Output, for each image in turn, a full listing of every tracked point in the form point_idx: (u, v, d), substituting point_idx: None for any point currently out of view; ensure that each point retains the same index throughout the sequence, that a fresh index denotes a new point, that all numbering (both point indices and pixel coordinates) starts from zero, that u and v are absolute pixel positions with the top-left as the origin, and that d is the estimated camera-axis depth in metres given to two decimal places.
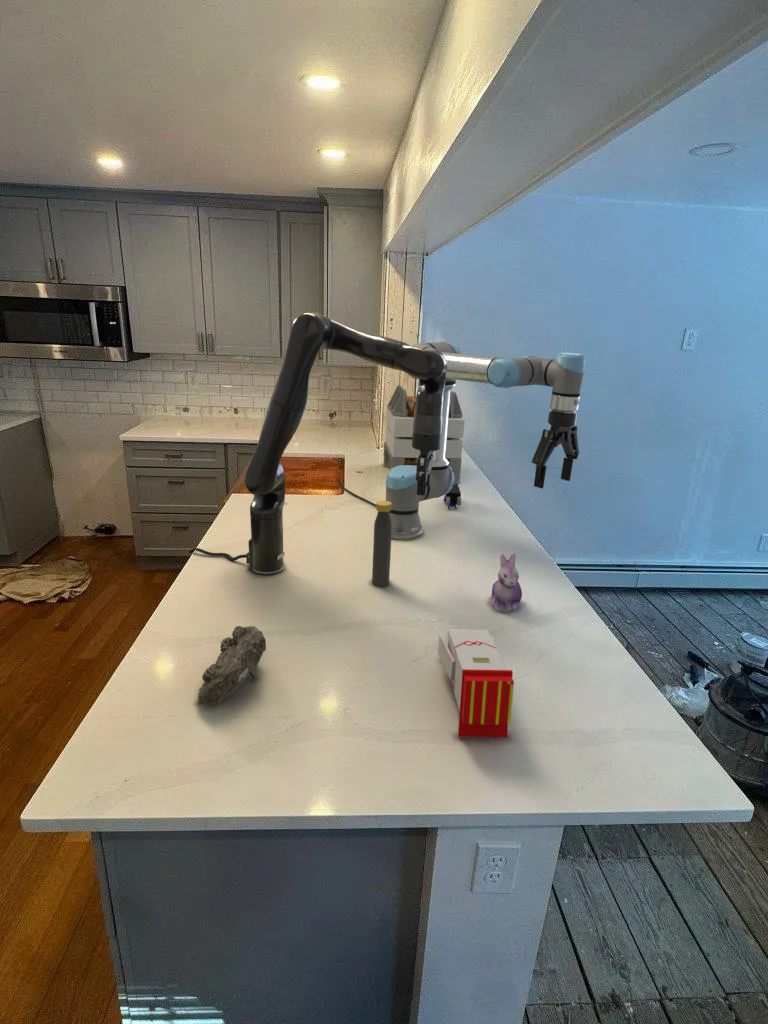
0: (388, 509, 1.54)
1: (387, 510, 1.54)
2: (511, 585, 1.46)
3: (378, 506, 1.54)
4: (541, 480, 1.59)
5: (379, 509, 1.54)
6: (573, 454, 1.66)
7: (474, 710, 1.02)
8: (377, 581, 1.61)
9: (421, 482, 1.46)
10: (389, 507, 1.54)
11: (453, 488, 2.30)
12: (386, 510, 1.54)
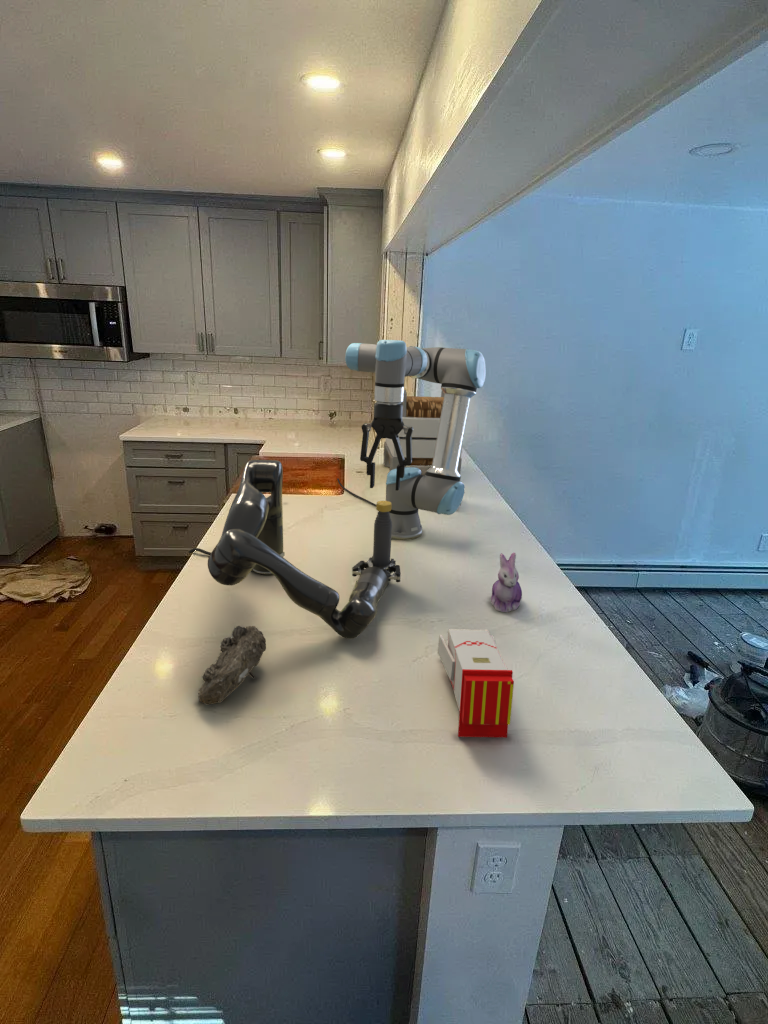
0: (388, 509, 1.54)
1: (387, 510, 1.54)
2: (511, 585, 1.46)
3: (378, 506, 1.54)
4: (399, 480, 1.53)
5: (379, 509, 1.54)
6: None
7: (474, 710, 1.02)
8: None
9: None
10: (389, 507, 1.54)
11: None
12: (386, 510, 1.54)
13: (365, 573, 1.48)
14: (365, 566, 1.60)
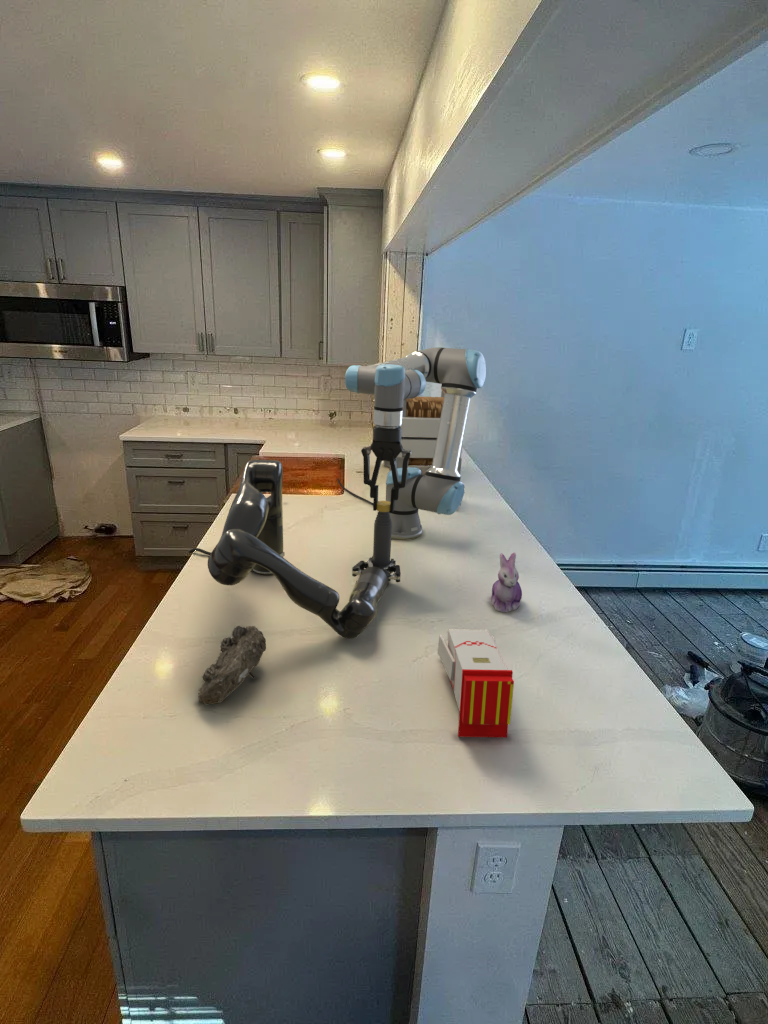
0: (388, 509, 1.54)
1: (387, 510, 1.54)
2: (511, 585, 1.46)
3: (378, 506, 1.54)
4: (394, 502, 1.56)
5: (379, 509, 1.54)
6: None
7: (474, 710, 1.02)
8: None
9: None
10: (389, 507, 1.54)
11: None
12: (386, 510, 1.54)
13: (365, 573, 1.48)
14: (365, 566, 1.60)
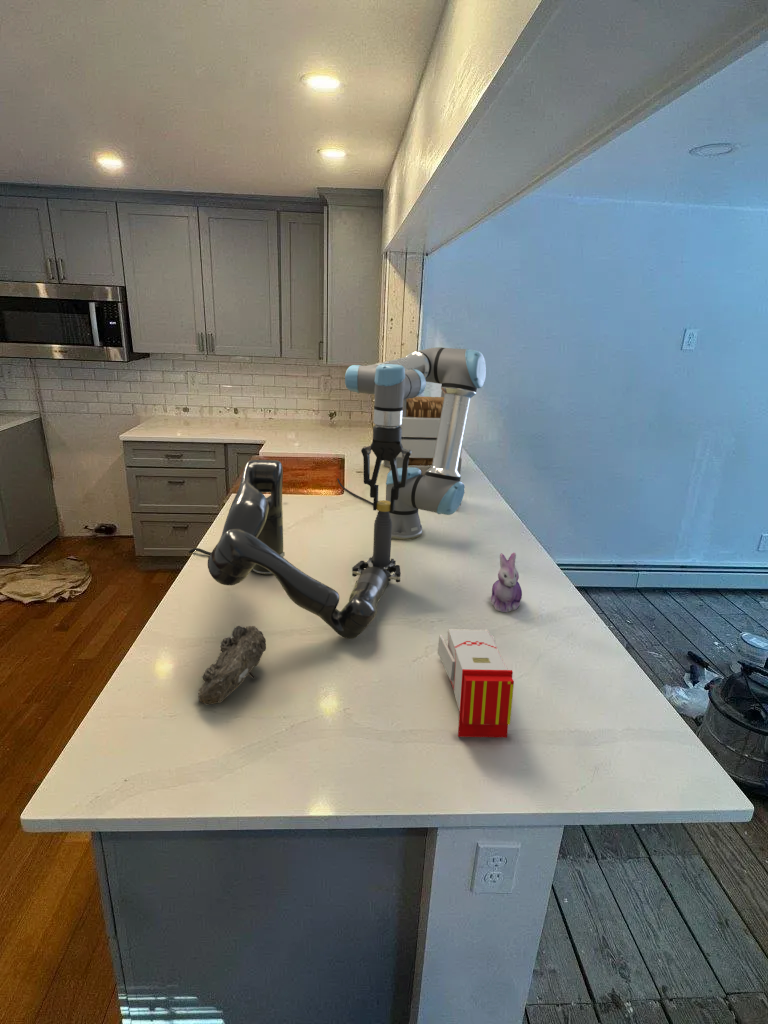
0: None
1: None
2: (511, 585, 1.46)
3: (388, 507, 1.54)
4: (394, 501, 1.56)
5: (389, 509, 1.55)
6: None
7: (474, 710, 1.02)
8: None
9: None
10: None
11: None
12: None
13: (365, 573, 1.48)
14: (365, 566, 1.60)
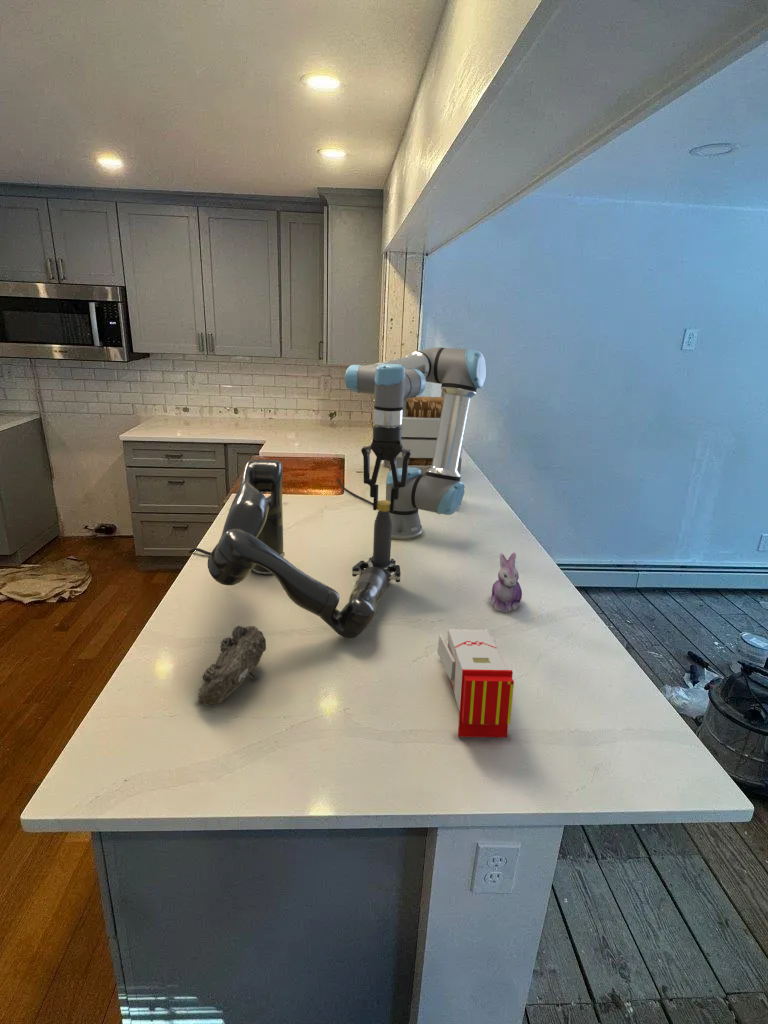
0: None
1: None
2: (511, 585, 1.46)
3: None
4: (394, 501, 1.56)
5: None
6: None
7: (474, 710, 1.02)
8: None
9: None
10: None
11: None
12: None
13: (365, 573, 1.48)
14: (365, 566, 1.60)
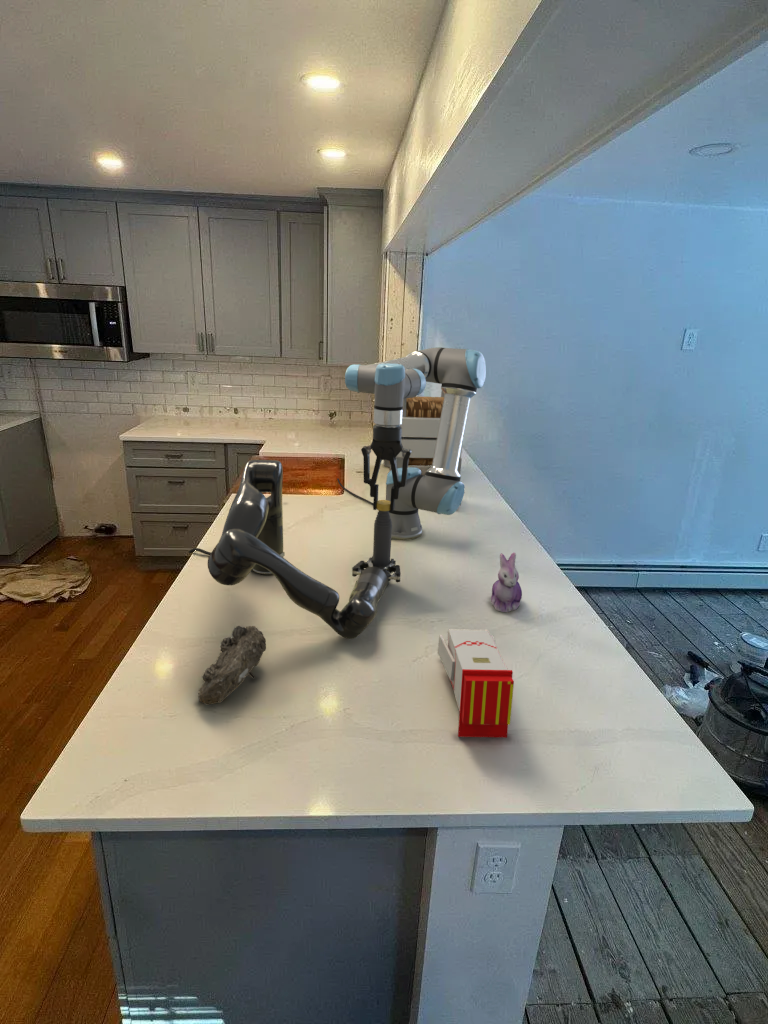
0: (377, 506, 1.55)
1: (376, 507, 1.56)
2: (511, 585, 1.46)
3: None
4: (394, 501, 1.56)
5: None
6: None
7: (474, 710, 1.02)
8: None
9: None
10: (377, 505, 1.55)
11: None
12: None
13: (365, 573, 1.48)
14: (365, 566, 1.60)
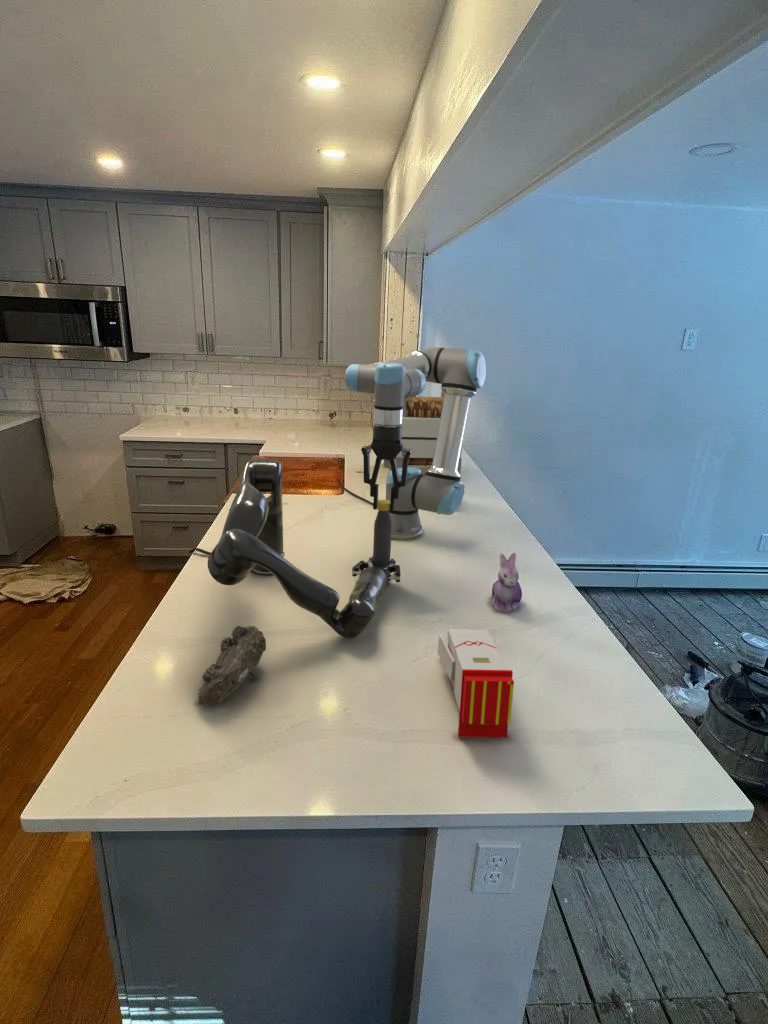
0: (384, 508, 1.54)
1: (383, 509, 1.54)
2: (511, 585, 1.46)
3: None
4: (394, 500, 1.56)
5: (377, 507, 1.55)
6: None
7: (474, 710, 1.02)
8: None
9: None
10: (386, 506, 1.54)
11: None
12: (382, 509, 1.54)
13: (365, 573, 1.48)
14: (365, 566, 1.60)
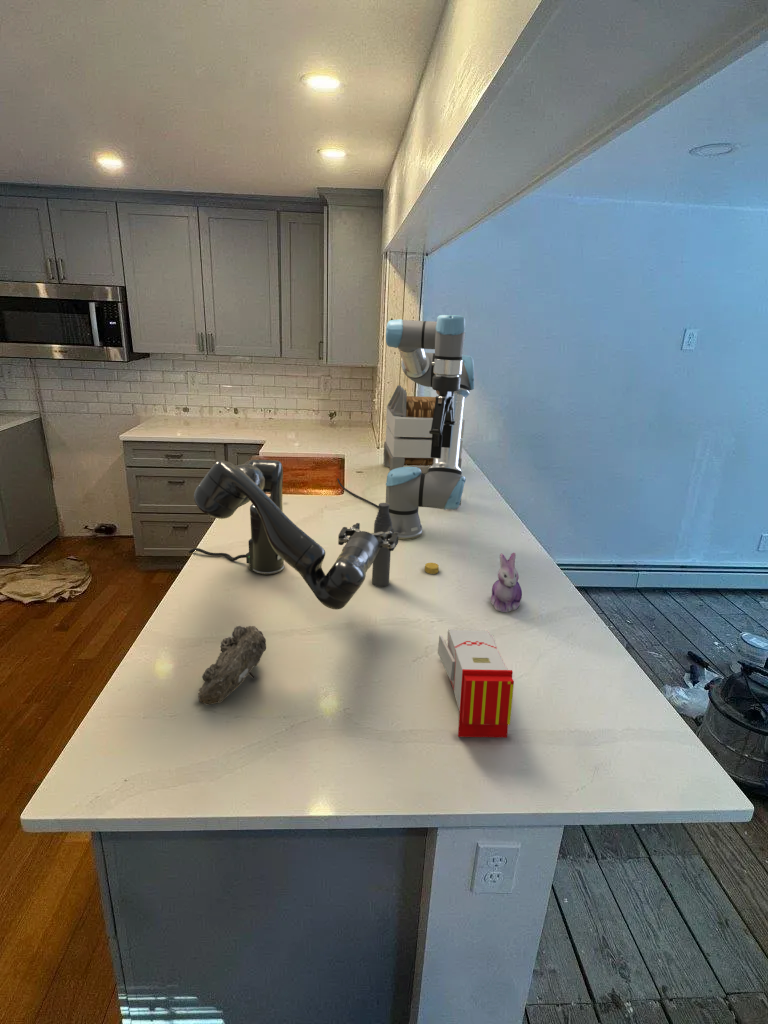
0: None
1: None
2: (511, 585, 1.46)
3: None
4: None
5: None
6: None
7: (474, 710, 1.02)
8: (377, 581, 1.61)
9: None
10: None
11: None
12: None
13: (353, 537, 1.30)
14: (348, 533, 1.42)
